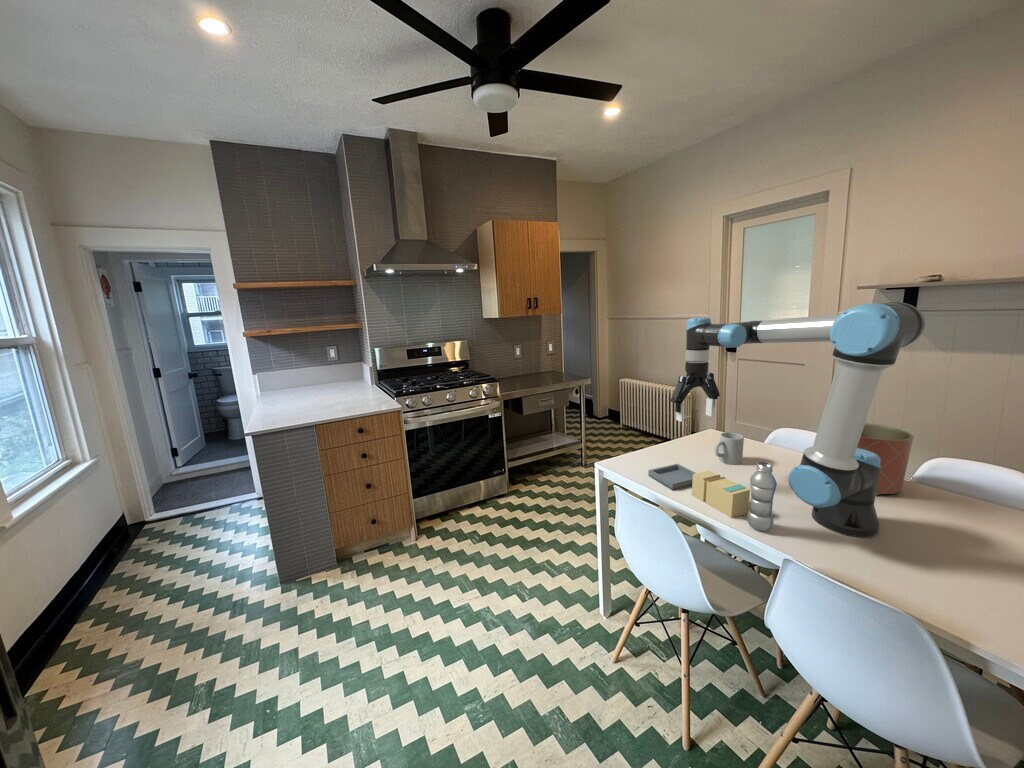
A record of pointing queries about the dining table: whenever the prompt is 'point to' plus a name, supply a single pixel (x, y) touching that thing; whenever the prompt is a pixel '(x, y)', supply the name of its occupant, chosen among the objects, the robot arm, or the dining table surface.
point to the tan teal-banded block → (727, 496)
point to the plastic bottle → (762, 497)
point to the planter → (888, 454)
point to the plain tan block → (702, 483)
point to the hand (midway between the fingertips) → (694, 418)
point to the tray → (672, 476)
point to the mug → (730, 448)
